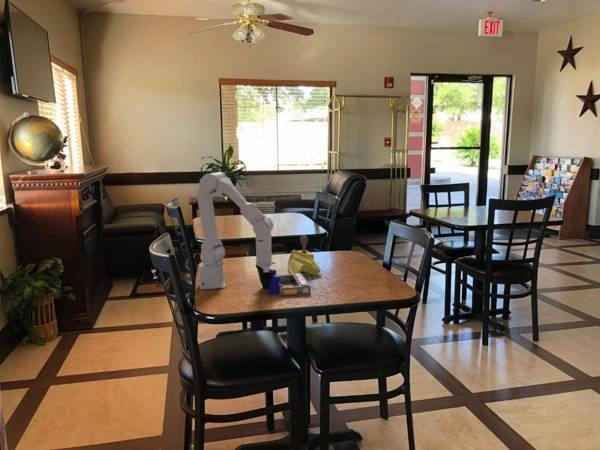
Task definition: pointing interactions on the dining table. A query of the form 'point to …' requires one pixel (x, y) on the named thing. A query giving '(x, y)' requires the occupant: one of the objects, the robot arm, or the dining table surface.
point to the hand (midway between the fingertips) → (264, 285)
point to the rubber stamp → (304, 243)
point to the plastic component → (302, 264)
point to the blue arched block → (274, 283)
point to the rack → (299, 283)
